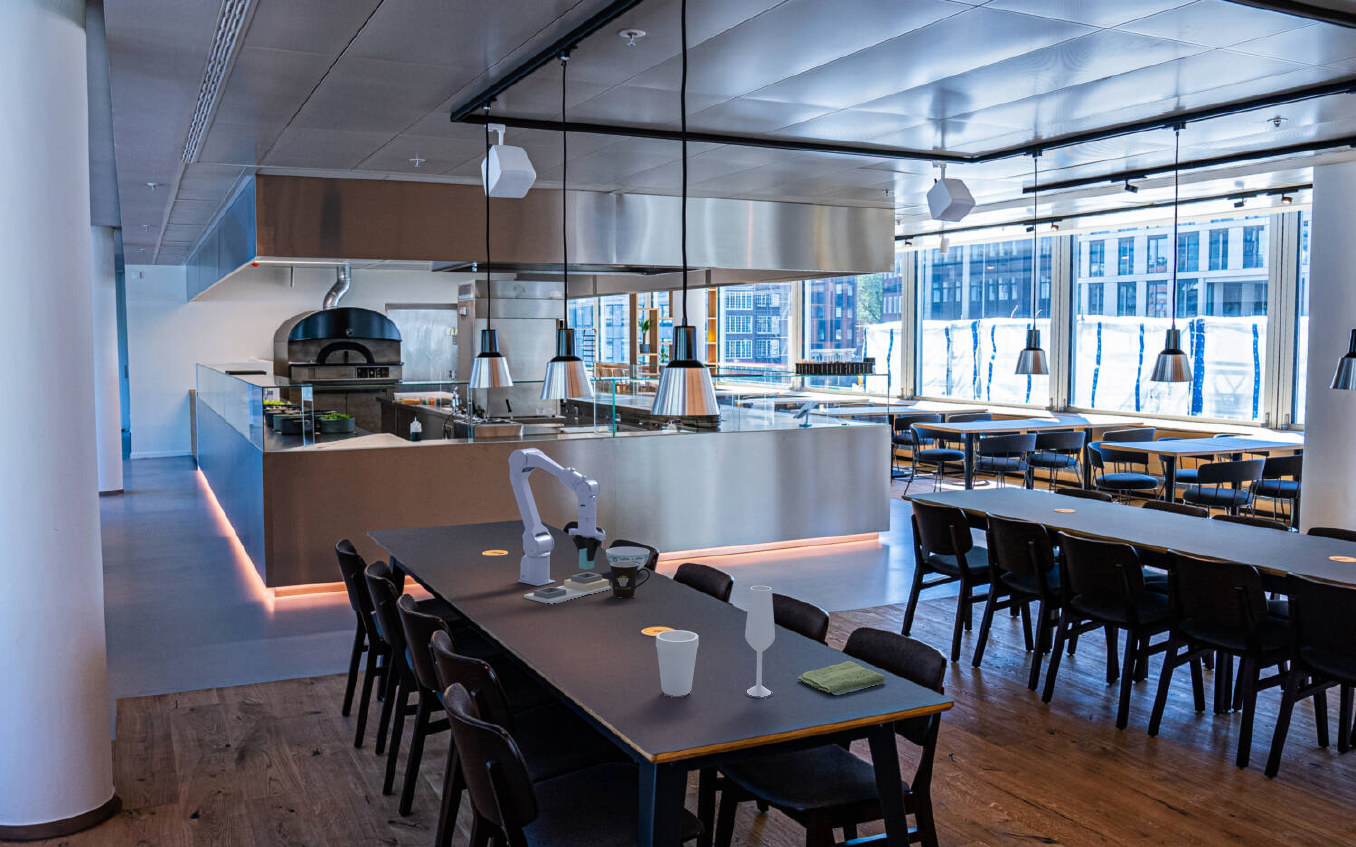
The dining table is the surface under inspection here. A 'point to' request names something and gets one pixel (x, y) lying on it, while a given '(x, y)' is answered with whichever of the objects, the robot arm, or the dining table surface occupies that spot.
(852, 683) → the washcloth
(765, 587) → the champagne flute
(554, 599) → the panel
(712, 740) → the dining table surface
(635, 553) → the chinaware
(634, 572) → the coffee mug
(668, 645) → the foam cup
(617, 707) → the dining table surface
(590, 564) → the plug
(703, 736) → the dining table surface
